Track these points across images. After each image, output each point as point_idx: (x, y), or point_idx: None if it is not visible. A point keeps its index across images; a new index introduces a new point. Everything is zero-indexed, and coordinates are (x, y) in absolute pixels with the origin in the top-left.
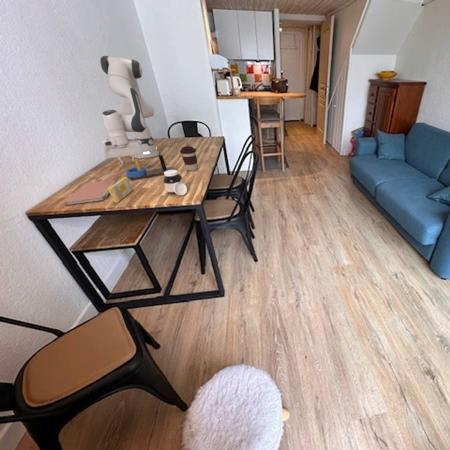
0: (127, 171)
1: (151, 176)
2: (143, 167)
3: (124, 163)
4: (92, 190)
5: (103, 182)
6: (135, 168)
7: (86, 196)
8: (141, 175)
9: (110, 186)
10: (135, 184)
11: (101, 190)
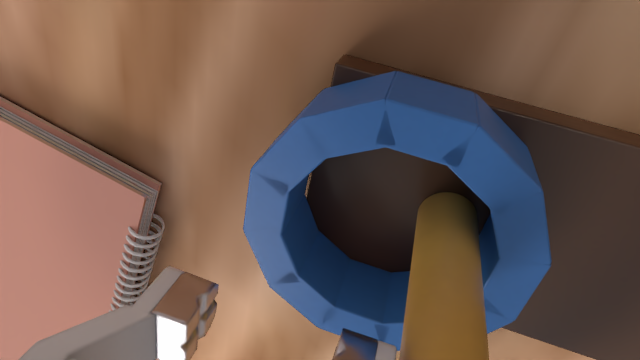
0: (265, 228)
1: None
2: (543, 234)
3: (203, 324)
4: (7, 294)
5: (42, 182)
6: (417, 155)
7: (4, 355)
8: None
9: None
10: (301, 354)
11: None
